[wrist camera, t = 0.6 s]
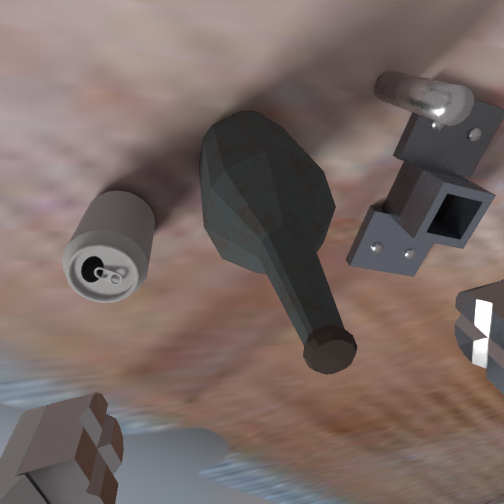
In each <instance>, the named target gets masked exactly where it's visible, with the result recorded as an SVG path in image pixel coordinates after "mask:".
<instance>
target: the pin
mask: <svg viewBox="0 0 504 504" xmlns="http://www.w3.org/2000/svg"><path fill="white" fill-rule="evenodd" d="M375 94H376V96H377V98H378V99H379V100H381V101H384V102H387V103H389V104H392V105H395V106H397V107H400V108H402V109H405V110H408V111H410V112H413V113H416V114H418V115H421V116H424V117H426V118H429V119H432V120H434V121H437V122H440V123H442V124H445V125H448V126H452V125H456V124H459V123H461V122H462V121H463V120H465V119H466V118H467V116H468V115H469V114H470V112H471V110H472V108H473V105H474V95H473V92H472V91H471V90H470V89H469V88H468V87H466V86H461V85H456V84H452V83H447V82H442V81H438V80H433V79H428V78H423V77H419V76H414V75H409V74H405V73H400V72H395V71H387V72H385V73H383V74H382V75H381V76H380V77H379V78H378V79H377V81H376V84H375Z"/></svg>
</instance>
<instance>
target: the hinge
mask: <svg viewBox="0 0 504 504" xmlns="http://www.w3.org/2000/svg"><path fill="white" fill-rule="evenodd" d="M503 118H504V109H502V108H499V107H496V106H493V105H490V104H487V103H484V102H481V101H478V100H475V99H474V105H473V108H472V110H471V112H470V114H469V115H468V116H467V118H466V119H465V120H463V121H462V122H461V123H459V124H456V125H452V126H448V125H445V124H442V123H440V122H437V121H434V120H432V119H429V118H426V117H424V116H421V115H418V114H416V113H413V112H412V115H411V117H410V119H409V121H408V123H407V126H406V128H405V130H404V132H403V134H402V137H401V139H400V141H399V143H398V146H397V148H396V150H395V152H394V154H393V156H395V157H396V158H398V159H400V160H404V163H403V165H402V167H401V169H400V171H399V173H398V175H397V177H396V180H395V182H394V184H393V186H392V188H391V190H390V192H389V195H388V197H387V199H386V201H385V203H384V205H383V207H382V209H380V208H375V207H371V206H370V207H369V210H368V212H367V214H366V216H365V219H364V221H363V223H362V225H361V227H360V230H359V232H358V234H357V236H356V238H355V241H354V243H353V245H352V247H351V250H350V252H349V254H348V256H347V258H346V261H347V262H348V264H349V265H350V266H354V267H360V268H365V269H371V270H377V271H383V272H389V273H395V274H401V275H406V276H412V277H414V276H415V274H416V272H417V270H418V269H419V267H420V265H421V263H422V262H423V260H424V258H425V256H426V254H427V253H428V251H429V249H430V247H431V246H432V244H433V243H437V244H442V245H447V246H452V247H457V248H462V249H463V248H464V247H465V245H466V243H467V242H468V240H469V238H470V237H471V235H472V233H473V232H474V230H475V229H476V227H477V225H478V224H479V222H480V220H481V219H482V217H483V215H484V214H485V212H486V211H487V209H488V207H489V206H490V204H491V202H492V201H493V199H494V197H495V196H496V195H494V194H493V193H491V192H489V191H487V190H485V189H483V188H482V187H480V186H478V185H476V184H474V183H472V182H471V181H469V180H467V179H465V178H463V177H461V176H465V177H469V178H470V176H471V175H472V173H473V171H474V169H475V167H476V166H477V164H478V162H479V160H480V159H481V157H482V155H483V153H484V151H485V150H486V148H487V146H488V144H489V143H490V141H491V139H492V137H493V136H494V134H495V132H496V130H497V128H498V127H499V125H500V123H501V121H502V120H503ZM460 175H461V176H460Z"/></svg>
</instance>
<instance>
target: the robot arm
mask: <svg viewBox="0 0 504 504" xmlns="http://www.w3.org/2000/svg"><path fill="white" fill-rule="evenodd" d="M455 308H456V309H457V310H458V311H459V312H460V313H461V315H460V316H459V318H458V319H457V321H456V322H455V337H456V340H457V343H458V346H459V348H460V349H461V351H462V352H463V354H464V355H465V356H466V357H467V358H468V359H469V361H470V362H471V363H473V364H475V365H478V366H481V367H483V368H486V378H487V379H488V380H489V381H490V382H491V383H492V384H493V385H494V386H495V387H496V388H497V389H498V390H499V391H500V392H501V393H502V394H503V395H504V279H503V280H501V281H498V282H494V283H491V284H487V285H483V286H480V287H476V288H473V289H469V290H466V291H462V292H459V293H458V295H457V297H456V305H455ZM107 406H108V403H107V402H106V400H105V398H104V397H103V395H102V394H101V393H97V392H96V393H92V394H88V395H84V396H80V397H76V398H72V399H68V400H64V401H60V402H56V403H52V404H50V405H46V406H42V407H38V408H34V409H30V410H27V411H26V412H25V413H23V414H22V415H21V417H20V419H19V421H18V423H17V425H16V427H15V429H14V431H13V433H12V435H11V437H10V439H9V441H8V443H7V445H6V447H5V449H4V451H3V454H2V456H1V458H0V504H115V501H116V495H117V488H118V482H117V481H116V479H115V478H114V476H113V474H114V473H115V472H116V471H117V469H118V468H119V467H120V465H121V464H122V458H123V451H124V449H123V436H122V432H121V429H120V426H119V424H118V422H117V420H116V418H114V417H112V416H110V415H108V414H106V411H107Z"/></svg>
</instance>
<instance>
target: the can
mask: <svg viewBox="0 0 504 504" xmlns="http://www.w3.org/2000/svg"><path fill="white" fill-rule="evenodd" d="M154 229H155V218H154V214H153V212H152V210H151V208H150V207H149V205H148V204H147V203H146V202H145V201H144V200H143V199H142V198H140V197H138V196H136V195H134V194H132V193H130V192H125V191H108V192H106V193H103V194H101V195H99V196H97V197H96V198H95V199H94V200H93V201H92V202H91V203H90V205H89V207H88V209H87V211H86V212H85V214H84V216H83V218H82V220H81V221H80V223H79V225H78V227H77V229H76V231H75V232H74V234H73V236H72V238H71V240H70V241H69V243H68V245H67V247H66V249H65V251H64V253H63V264H62V266H63V269H64V271H65V274H66V277H67V280H68V283H69V285H70V286H71V287H72V288H73V289H74V291H75V292H76V293H78V294H79V295H81V296H82V297H84V298H86V299H89V300H91V301H94V302H101V303H111V302H117V301H120V300H122V299H125V298H127V297H128V296H129V295H131V294H132V293H133V292H135V291H136V290H137V289H138V288H140V287H141V286H142V284H143V282H144V281H145V279H146V277H147V272H148V266H149V260H150V253H151V247H152V241H153V235H154Z"/></svg>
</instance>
